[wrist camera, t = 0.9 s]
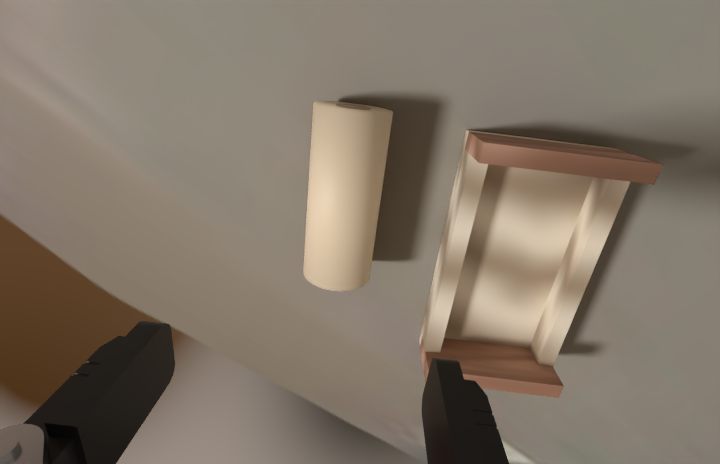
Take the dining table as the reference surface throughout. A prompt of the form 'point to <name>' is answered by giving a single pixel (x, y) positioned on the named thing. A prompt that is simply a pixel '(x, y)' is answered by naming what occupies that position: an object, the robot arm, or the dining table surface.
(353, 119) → the paper roll
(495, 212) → the roll holder
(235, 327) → the dining table surface
